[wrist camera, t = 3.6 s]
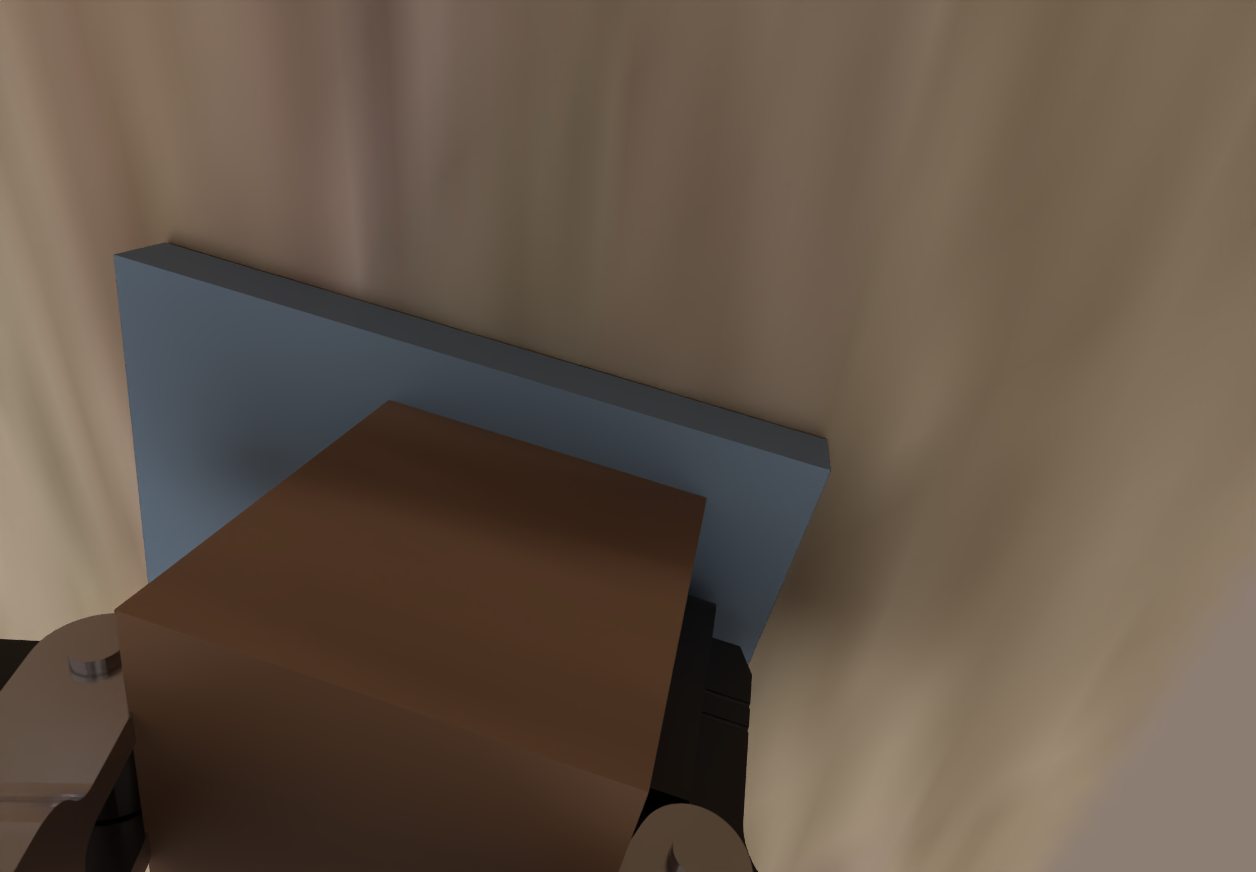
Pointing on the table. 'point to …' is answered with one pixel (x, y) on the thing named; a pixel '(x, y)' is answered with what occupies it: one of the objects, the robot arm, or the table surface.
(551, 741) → the walnut block
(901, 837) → the table surface
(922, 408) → the table surface
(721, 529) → the board
